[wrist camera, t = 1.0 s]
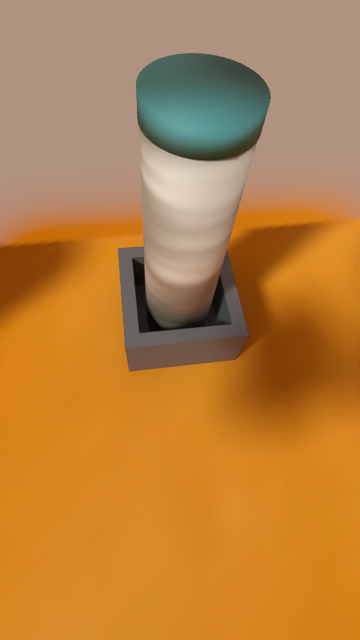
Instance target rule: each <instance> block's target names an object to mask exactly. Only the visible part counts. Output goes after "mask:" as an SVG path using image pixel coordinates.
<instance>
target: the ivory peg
mask: <svg viewBox="0 0 360 640" xmlns="http://www.w3.org/2000/svg"><path fill="white" fill-rule="evenodd" d="M136 93H137V118H138V125H139V129H140V156H141V182H142V206H143V207H142V209H143V235H144V261H145V287H146V314H147V321H148V324H149V326H150V328H151V329H152V331H153V332H157V331H167V330H177V329H188V328H198V327H205V324H206V321H207V317H208V314H209V310H210V307H211V303H212V300H213V296H214V292H215V289H216V285H217V282H218V278H219V275H220V271H221V268H222V264H223V261H224V257H225V253H226V250H227V246H228V243H229V239H230V236H231V232H232V229H233V225H234V222H235V218H236V214H237V210H238V207H239V203H240V200H241V197H242V193H243V190H244V186H245V182H246V179H247V175H248V172H249V168H250V164H251V161H252V157H253V154H254V151H255V147H256V143H257V141H258V139H259V137H260V135H261V131H262V128H263V124H264V121H265V117H266V114H267V110H268V107H269V103H270V98H271V97H270V91H269V88H268V86H267V84H266V83H265V81H264V80H263V79H262V78H261V77H260V76H259V75H258V74H257V73H256V72H254V71H253V70H251V69H250V68H248V67H246V66H245V65H243V64H241V63H238V62H236V61H234V60H231V59H227V58H224V57H220V56H215V55H209V54H198V53H187V54H176V55H171V56H167V57H163V58H160V59H158V60H156V61H154V62H152V63H150V64H148V65H147V66H146V67H145V68H144V69H143V70H142V71H141V72H140V73H139V75H138V78H137V81H136Z"/></svg>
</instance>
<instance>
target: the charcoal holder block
mask: <svg viewBox="0 0 360 640" xmlns="http://www.w3.org/2000/svg"><path fill="white" fill-rule="evenodd" d="M118 256H119V269H120V283H121V297H122V310H123V324H124V338H125V349H126V355H127V361H128V366H129V371H137V370H146V369H155V368H164V367H173V366H182V365H191V364H200V363H209V362H218V361H227V360H236V359H237V357H238V355H239V353H240V351H241V350H242V348H243V346H244V344H245V342H246V341H247V339H248V337H249V332H248V328H247V325H246V321H245V317H244V313H243V310H242V306H241V302H240V298H239V295H238V291H237V287H236V283H235V280H234V276H233V272H232V268H231V264H230V261H229V257H228V253H227V250H226V253H225V257H224V261H223V264H222V268H221V271H220V275H219V278H218V282H217V285H216V289H215V292H214V296H213V300H212V303H211V307H210V310H209V314H208V317H207V321H206V324H205V327H198V328H188V329H177V330H167V331H157V332H153V331H152V329H151V328H150V326H149V324H148V321H147V314H146V287H145V261H144V247H131V248H118Z"/></svg>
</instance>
